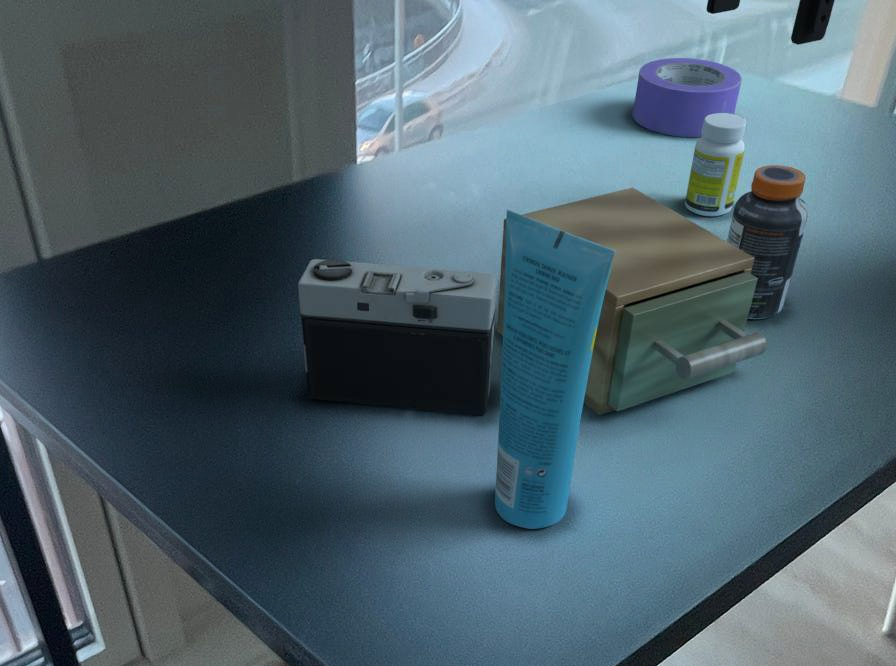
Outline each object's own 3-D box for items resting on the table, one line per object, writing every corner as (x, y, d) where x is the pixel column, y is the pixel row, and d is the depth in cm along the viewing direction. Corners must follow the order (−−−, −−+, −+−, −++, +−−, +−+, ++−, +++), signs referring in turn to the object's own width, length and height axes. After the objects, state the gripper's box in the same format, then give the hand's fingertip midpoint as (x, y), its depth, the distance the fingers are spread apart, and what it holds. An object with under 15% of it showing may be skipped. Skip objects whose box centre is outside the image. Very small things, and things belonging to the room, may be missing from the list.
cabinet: (726, 373, 81) (755, 257, 74) (598, 415, 77) (617, 297, 70) (615, 296, 90) (632, 186, 83) (496, 331, 85) (503, 218, 79)
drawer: (772, 398, 77) (800, 303, 71) (653, 441, 73) (673, 343, 67) (628, 300, 87) (643, 210, 82) (518, 332, 84) (525, 239, 78)
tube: (594, 511, 69) (639, 233, 55) (556, 547, 66) (593, 265, 52) (504, 470, 72) (525, 198, 58) (464, 504, 69) (476, 227, 55)
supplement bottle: (716, 195, 105) (735, 109, 99) (740, 214, 102) (760, 125, 96) (675, 201, 104) (691, 114, 98) (698, 220, 101) (716, 131, 95)
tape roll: (753, 126, 119) (763, 79, 115) (676, 144, 115) (685, 97, 111) (686, 96, 126) (695, 51, 122) (612, 113, 122) (618, 67, 118)
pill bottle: (795, 305, 89) (834, 172, 81) (758, 328, 86) (794, 194, 78) (737, 282, 92) (768, 152, 84) (699, 304, 89) (728, 172, 81)
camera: (498, 363, 82) (506, 243, 75) (485, 419, 76) (493, 295, 69) (330, 348, 83) (322, 228, 76) (305, 402, 78) (295, 279, 71)
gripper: (962, -241, 67) (876, 46, 79) (774, -263, 77) (723, -6, 90) (885, -235, 64) (808, 62, 77) (700, -259, 75) (659, 6, 87)
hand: (762, 25), depth 83 cm, fingers open, 9 cm apart
